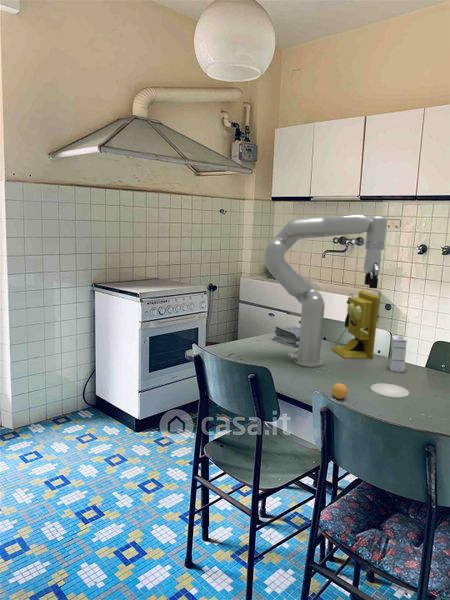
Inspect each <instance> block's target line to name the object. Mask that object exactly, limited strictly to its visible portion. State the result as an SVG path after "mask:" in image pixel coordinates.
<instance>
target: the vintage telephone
mask: <svg viewBox="0 0 450 600" xmlns="http://www.w3.org/2000/svg"><path fill="white" fill-rule="evenodd" d="M379 301H380V296H379V295H376V294H373V293H371V292H368V291H365V290H361V289H360V291H358V297H357V296H355V297H354V296H353V293H350V295H349V297H348V298H347V300H346V304H347V308H346V309H347V310H346V311H347V313H346V317H345V320H344V328H346V329H345V330H344V331H343V333H342V334H341V335H340V337H339V339H338V340H337V341H336V343H338V342H339V340H340V339H341V338H342V337H343V335H344V333H345V332H346V331H347V332H348V333H349V334H350V335H352V336H354V338H351V339H350V340H349V341H347V343H346V344H345V345H334V346H333V347H331V350H332V351H333V352H334V353H336V354H338V355H339V356H340V357H341V358H343V359H368V358H369V360H373V359H374V350H375V341H376V332H377V323H378V321H377V320H378V312H379V304H380V302H379Z"/></svg>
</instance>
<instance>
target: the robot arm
mask: <svg viewBox="0 0 450 600" xmlns="http://www.w3.org/2000/svg"><path fill="white" fill-rule="evenodd" d="M387 223H388V220H387V217H385V216H381V215H380V216H379V215H374V216H373V215H372V216H368V215H367V216H365V215H363V214H354V215H344V216H328V215H327V216H317V217H316V216H315V217H306V218H305V217H304V218H303V217H301V218H292V219H291V220H289V221H288V222H287V223H286V225H285V226H283V228H282V229H281V230H280V231H279V232H278V233H277V234H276V235H275V236H274V238H272V239H271V240H270V241H268V244H267V245H266V249H265V252H264V258H263V259H264V264H265V266H266V269H267V271H268V272H269V273H270V274H271V275H272V276H273V278H274V279H275V280H276V281H277V282H278V284H279V285H280V286H282V287H283V289H284V290H285V291H286V292H287V294H289V296H291V297H294V298H295V299H296V300H297V301H298V303H300V304H301V314H300V325H299V328H300V340H299V346H298V350H297V351H296V352H287V357H288V358H291V359H294V362H293V363H295V364H296V365H297V366H301V367H307V368H318V367H322V366H323V365H324V361H323V360H322V359H321V348H322V347H321V346H322V335H323V323H324V314H325V308H326V307H325V301H324V298H323V296H322V294H321V292H319V290H317V289H316V287H314V285H313V284H312V283H311V282H310V281H309V280H308V279H307V278H306V277H305V276H304V275H303V274H301V273H298V272H297V271H295V269H293V267H292V266H291V265H290V264H289V263H288V262H287V260H286V258H285V254H286V253H287V252H288V251H289V250H290V249H291V248H292V247H293V246H294V245H295V244H296V242H298V240H299V239H309V238H310V239H312V238H313V239H315V238H326V237H333V236H344V235H345V236H346V235H356V234H357V235H360V234H364V233H366V235H365V247H364V248H365V250H366V252H365V258H364V264H363V272H365V276H364V283H363V284H364V285H365V286H368V288H369V289H377V288H378V283H379V282H378V281H379V273H380V271H381V262H382V259H381V258H382V251H384V250H385V242H386V232H387V231H386V230H387Z"/></svg>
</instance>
